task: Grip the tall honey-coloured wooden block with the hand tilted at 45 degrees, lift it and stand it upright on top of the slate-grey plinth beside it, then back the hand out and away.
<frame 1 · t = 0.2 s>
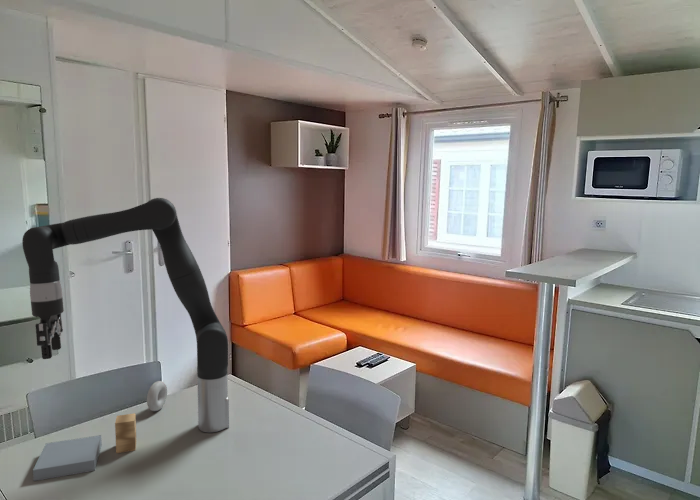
hand: (52, 353, 133), 28 cm above the table, tool pointing down, fingers open, 8 cm apart
block: (126, 447, 138), on the table
plinth: (70, 461, 130), on the table
donut: (157, 410, 162), on the table
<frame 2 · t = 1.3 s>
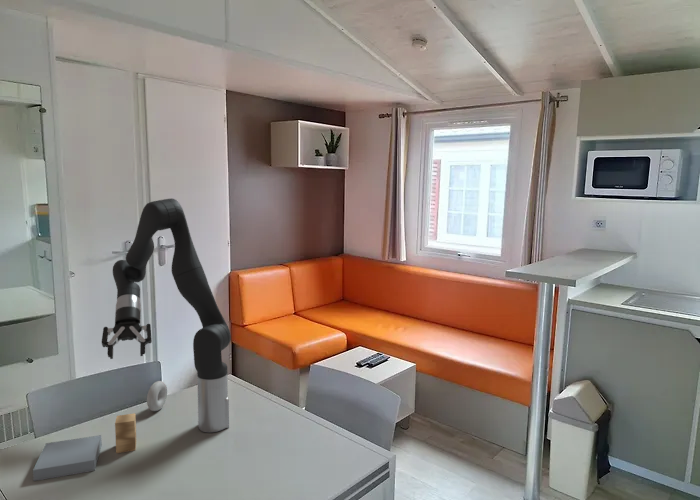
hand: (126, 356, 146), 24 cm above the table, tool tilted 45°, fingers open, 8 cm apart
nothing on the table moved.
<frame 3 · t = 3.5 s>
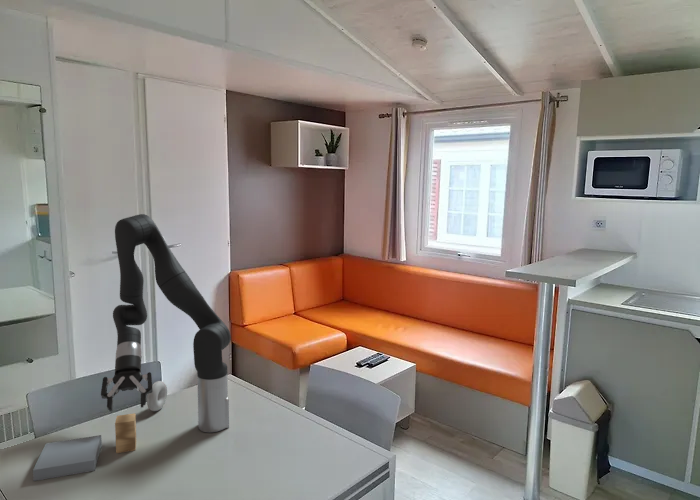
hand: (126, 408, 142), 10 cm above the table, tool tilted 45°, fingers open, 8 cm apart
nothing on the table moved.
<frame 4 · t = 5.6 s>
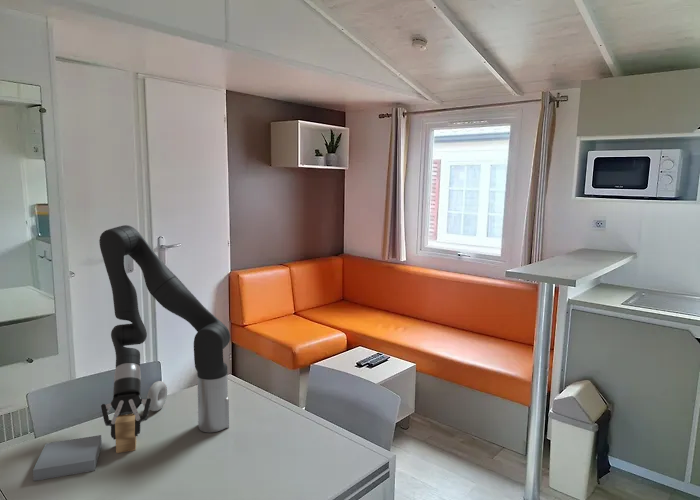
hand: (125, 436, 136), 4 cm above the table, tool tilted 45°, fingers closed on block, 5 cm apart
block: (126, 447, 138), on the table, touching gripper
everything else where it was.
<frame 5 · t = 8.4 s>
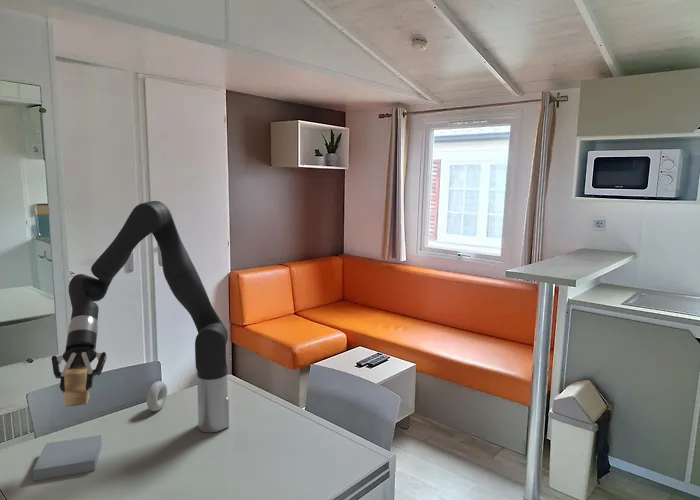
hand: (75, 390, 128), 21 cm above the table, tool tilted 45°, fingers closed on block, 5 cm apart
block: (77, 401, 130), point 16 cm above the table, touching gripper
everything else where it was.
when the fingers open (9 cm above the table, at t = 11.3 s): block drops 1 cm, resting on plinth.
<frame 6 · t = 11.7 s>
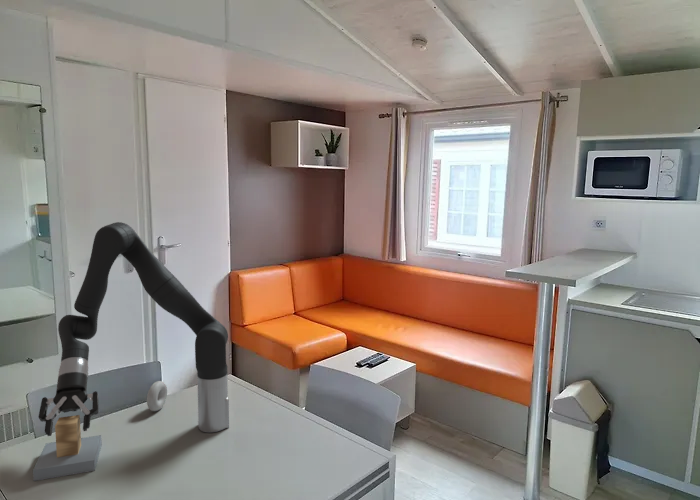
hand: (67, 432, 128), 9 cm above the table, tool tilted 45°, fingers open, 8 cm apart
block: (69, 451, 130), point 3 cm above the table, touching plinth
everything else where it was.
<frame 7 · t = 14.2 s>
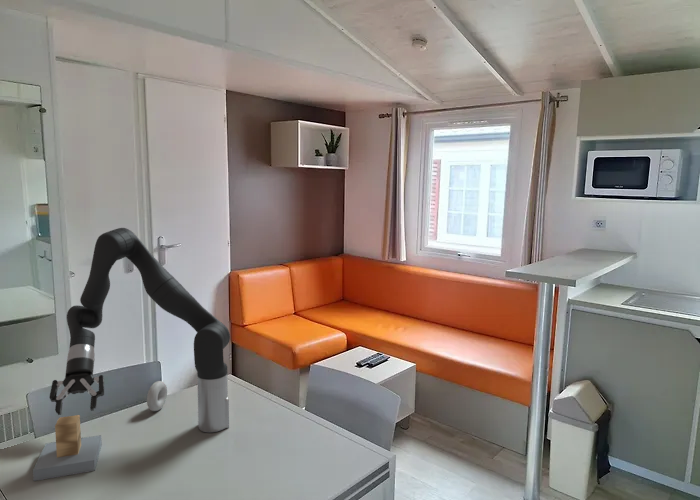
hand: (75, 411, 140), 9 cm above the table, tool tilted 45°, fingers open, 8 cm apart
nothing on the table moved.
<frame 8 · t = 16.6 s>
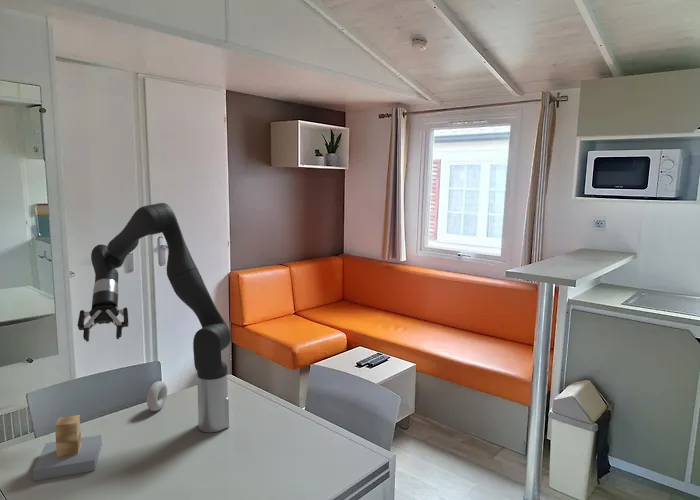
hand: (102, 339, 147), 29 cm above the table, tool tilted 45°, fingers open, 8 cm apart
nothing on the table moved.
at the end: block inside the target area on the plinth (0.1 cm from its centre), point 3.0 cm above the plinth's base; block tilted 0°; the gripper is holding nothing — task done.
